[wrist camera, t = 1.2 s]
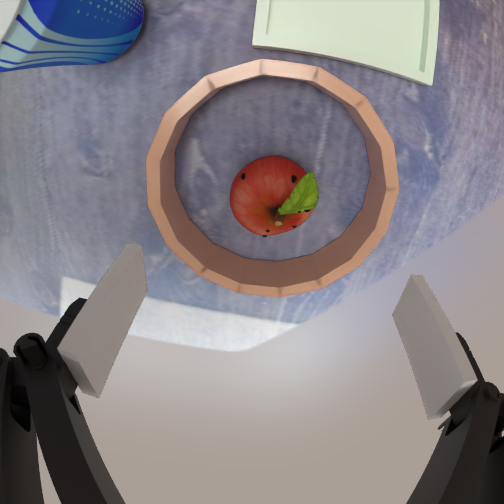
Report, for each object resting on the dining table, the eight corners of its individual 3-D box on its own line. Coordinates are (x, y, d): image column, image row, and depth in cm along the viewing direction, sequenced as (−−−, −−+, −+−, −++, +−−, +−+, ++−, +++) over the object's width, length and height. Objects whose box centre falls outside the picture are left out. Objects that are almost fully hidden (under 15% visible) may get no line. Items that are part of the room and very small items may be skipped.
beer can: (163, 31, 20) (53, -4, 7) (94, 80, 23) (-33, 106, 9) (129, -26, 16) (24, -75, 3) (65, 24, 19) (-54, 23, 5)
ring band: (166, 258, 33) (154, 282, 29) (166, 60, 22) (148, 57, 18) (351, 278, 33) (360, 304, 30) (398, 90, 22) (420, 94, 18)
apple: (297, 219, 30) (307, 280, 21) (230, 205, 29) (213, 262, 21) (318, 147, 26) (342, 182, 17) (244, 130, 25) (232, 156, 17)
